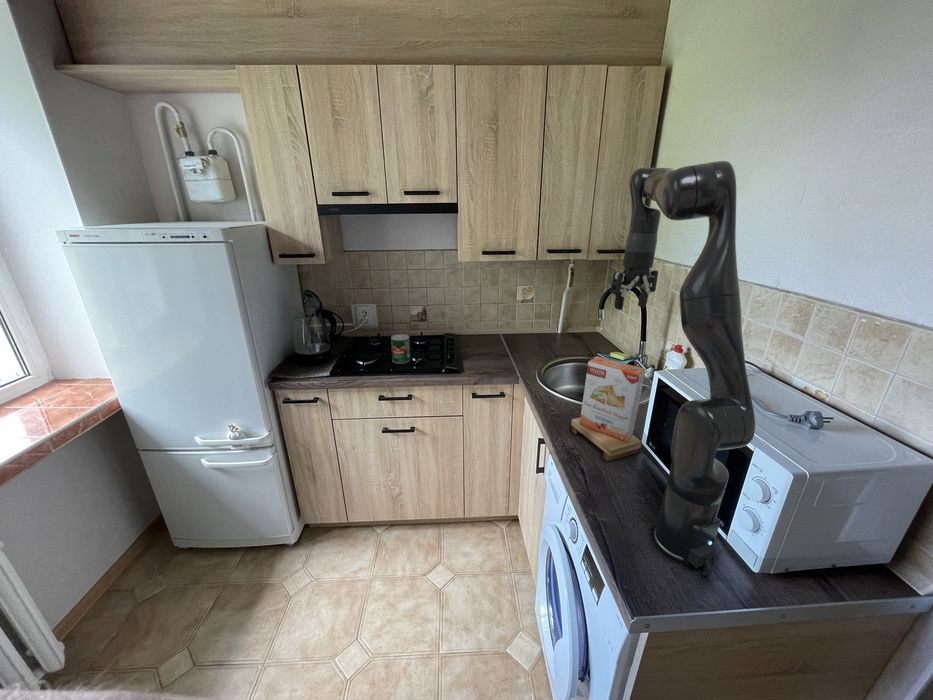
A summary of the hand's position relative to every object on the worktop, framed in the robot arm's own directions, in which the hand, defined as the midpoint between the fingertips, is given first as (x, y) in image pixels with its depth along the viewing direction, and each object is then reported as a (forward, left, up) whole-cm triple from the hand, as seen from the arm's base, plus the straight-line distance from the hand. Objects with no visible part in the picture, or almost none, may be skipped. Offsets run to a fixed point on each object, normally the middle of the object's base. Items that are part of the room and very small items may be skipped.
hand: (630, 308), depth 108 cm
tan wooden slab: (-7, +9, -38) cm, 40 cm away
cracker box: (-7, +9, -34) cm, 36 cm away
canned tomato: (+76, +50, -38) cm, 99 cm away
